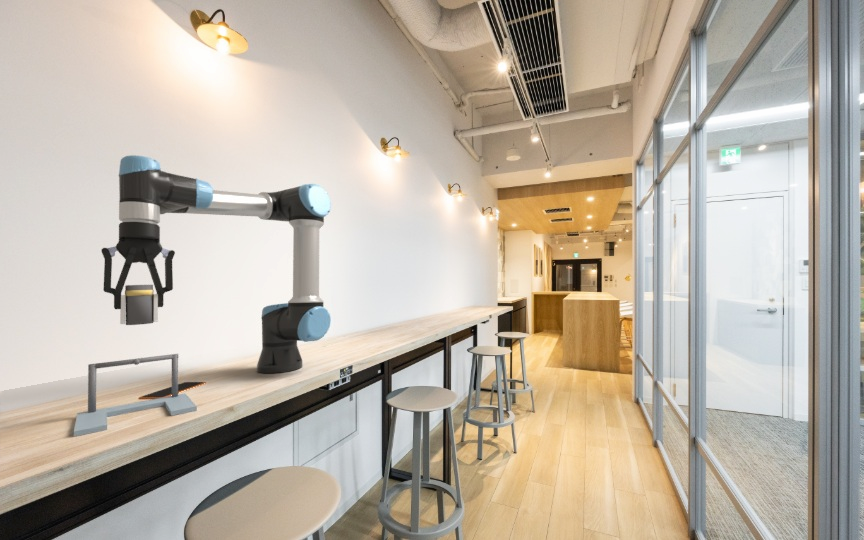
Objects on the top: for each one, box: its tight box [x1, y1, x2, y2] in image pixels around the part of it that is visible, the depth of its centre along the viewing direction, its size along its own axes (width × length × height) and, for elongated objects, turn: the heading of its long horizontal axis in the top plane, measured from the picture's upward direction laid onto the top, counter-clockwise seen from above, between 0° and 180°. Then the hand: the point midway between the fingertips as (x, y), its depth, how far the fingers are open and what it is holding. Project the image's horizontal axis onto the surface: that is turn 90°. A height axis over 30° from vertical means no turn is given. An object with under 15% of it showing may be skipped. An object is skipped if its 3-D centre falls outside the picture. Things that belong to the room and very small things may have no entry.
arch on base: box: [73, 353, 198, 437], centre depth 86 cm, size 21×16×12 cm
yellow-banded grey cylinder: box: [124, 284, 154, 326], centre depth 85 cm, size 5×5×9 cm
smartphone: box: [138, 381, 207, 400], centre depth 106 cm, size 8×17×1 cm, turn 174°
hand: (139, 322), depth 85 cm, fingers closed on yellow-banded grey cylinder, 5 cm apart
